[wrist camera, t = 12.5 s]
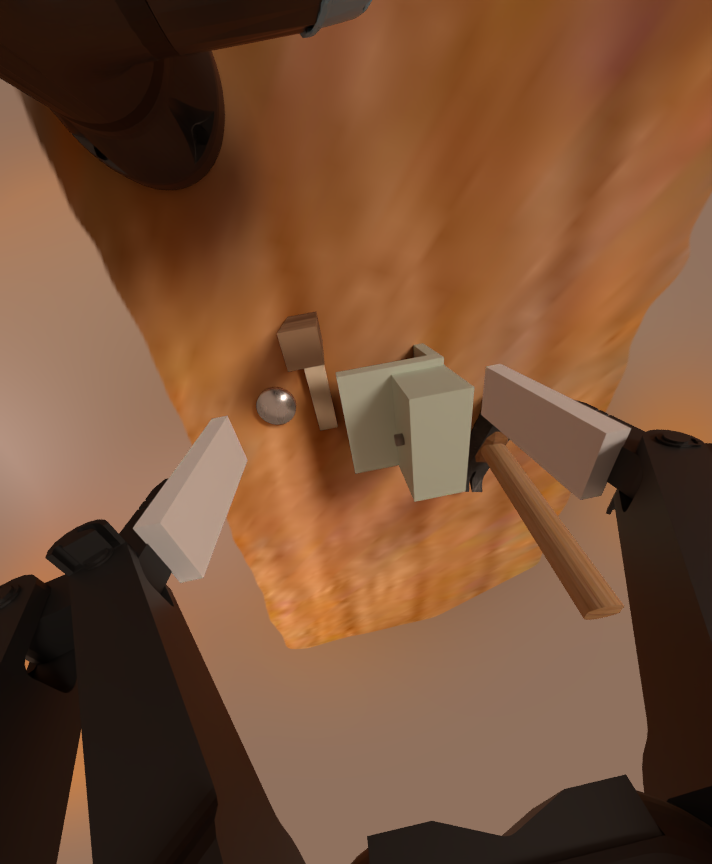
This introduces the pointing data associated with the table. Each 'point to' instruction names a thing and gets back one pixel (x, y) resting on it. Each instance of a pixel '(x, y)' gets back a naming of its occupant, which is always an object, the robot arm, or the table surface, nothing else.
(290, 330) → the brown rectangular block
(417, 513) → the table surface
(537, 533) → the hammer
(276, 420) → the chrome dome knob
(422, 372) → the plinth shelf
